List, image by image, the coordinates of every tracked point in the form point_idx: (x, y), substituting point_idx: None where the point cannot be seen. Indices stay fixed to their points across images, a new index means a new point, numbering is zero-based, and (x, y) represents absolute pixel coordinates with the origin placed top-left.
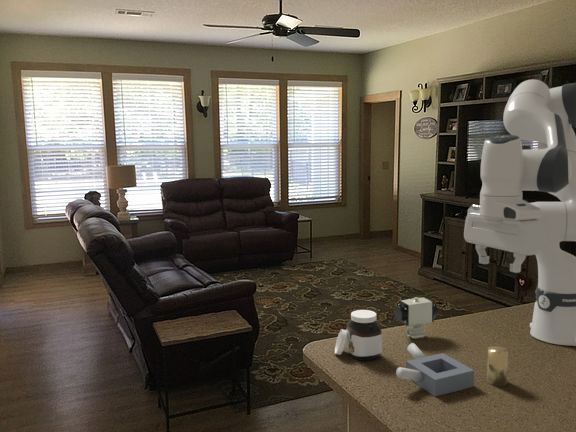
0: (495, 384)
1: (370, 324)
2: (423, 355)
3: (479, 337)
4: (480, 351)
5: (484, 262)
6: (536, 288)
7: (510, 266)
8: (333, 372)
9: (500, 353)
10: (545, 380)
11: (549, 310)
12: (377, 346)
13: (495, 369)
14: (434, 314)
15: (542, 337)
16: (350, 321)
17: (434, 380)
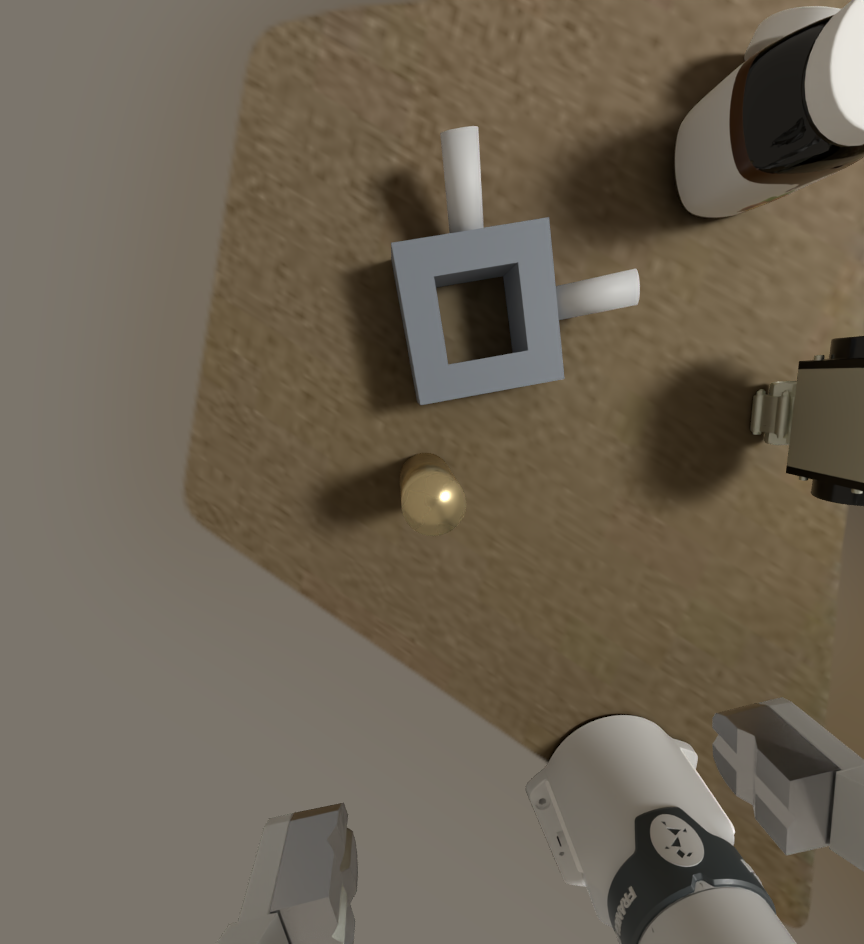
0: (406, 462)
1: (795, 91)
2: (568, 302)
3: (683, 586)
4: (602, 539)
5: (729, 732)
6: (751, 880)
7: (320, 861)
8: None
9: (405, 496)
10: (401, 596)
11: (639, 820)
12: (695, 168)
13: (408, 470)
14: (814, 484)
15: (602, 728)
16: None
17: (394, 243)
